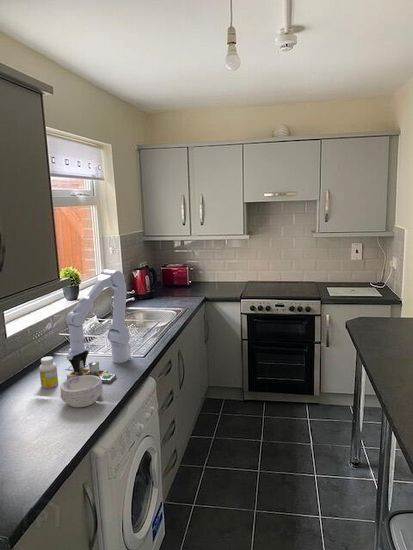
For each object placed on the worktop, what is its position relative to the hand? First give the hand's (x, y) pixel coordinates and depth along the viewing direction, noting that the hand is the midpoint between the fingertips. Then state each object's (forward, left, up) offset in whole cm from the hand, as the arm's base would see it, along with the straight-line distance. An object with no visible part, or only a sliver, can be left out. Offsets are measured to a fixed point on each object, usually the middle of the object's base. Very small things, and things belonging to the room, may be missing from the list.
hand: (79, 369), depth 186 cm
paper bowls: (+20, +13, -4) cm, 24 cm away
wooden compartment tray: (0, +4, -4) cm, 5 cm away
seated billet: (0, +7, -3) cm, 8 cm away
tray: (-9, -6, -4) cm, 11 cm away
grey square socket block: (+2, +14, -4) cm, 15 cm away
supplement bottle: (+11, -7, -4) cm, 14 cm away
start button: (+2, +14, -5) cm, 15 cm away
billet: (0, 0, -2) cm, 2 cm away
